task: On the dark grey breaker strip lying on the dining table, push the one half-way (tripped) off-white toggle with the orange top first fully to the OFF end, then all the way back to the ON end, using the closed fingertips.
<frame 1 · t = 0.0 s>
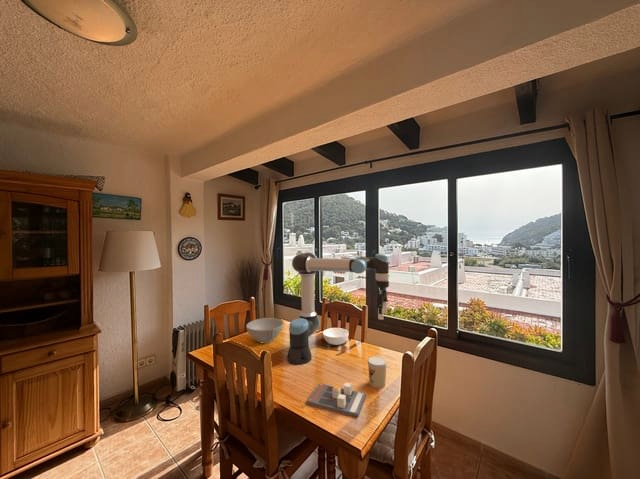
hand: (382, 315, 155), 28 cm above the table, fingers open, 13 cm apart
breaker panel: (336, 400, 121), on the table
bowl: (335, 342, 186), on the table
breaker toggle: (336, 392, 121), point 4 cm above the table, slide at 0.0 cm
decorative bowl: (265, 340, 192), on the table
coffee cup: (377, 384, 133), on the table
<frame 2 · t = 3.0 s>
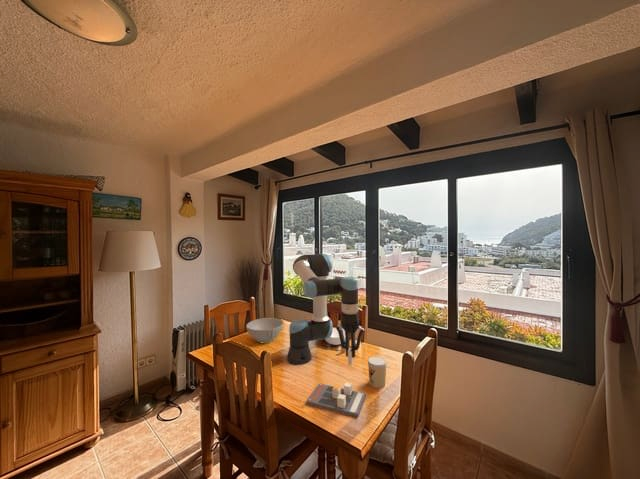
hand: (350, 363, 118), 18 cm above the table, fingers closed
nothing on the table moved.
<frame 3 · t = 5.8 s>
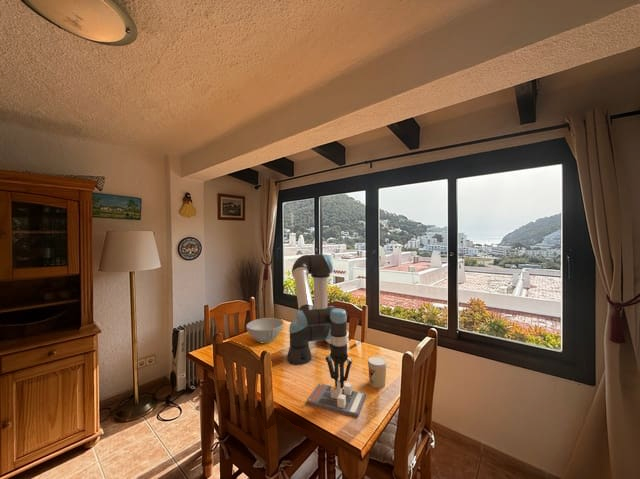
hand: (339, 394, 120), 3 cm above the table, fingers closed
breaker toggle: (334, 391, 121), point 4 cm above the table, slide at -0.9 cm, touching gripper
everything else where it was.
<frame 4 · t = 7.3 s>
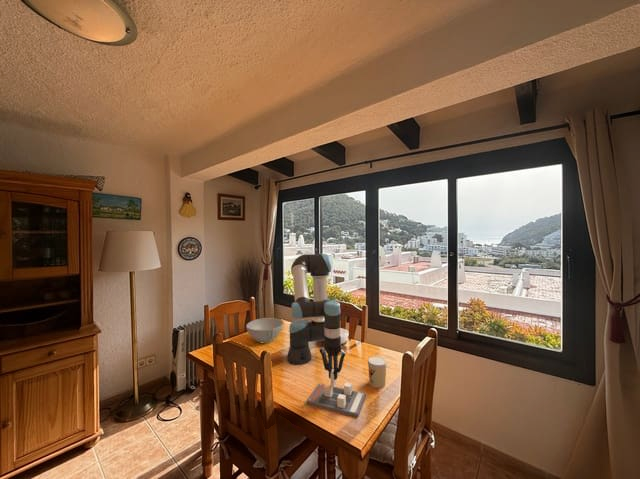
hand: (333, 385, 122), 7 cm above the table, fingers closed
breaker toggle: (328, 390, 122), point 4 cm above the table, slide at -4.0 cm
everything else where it was.
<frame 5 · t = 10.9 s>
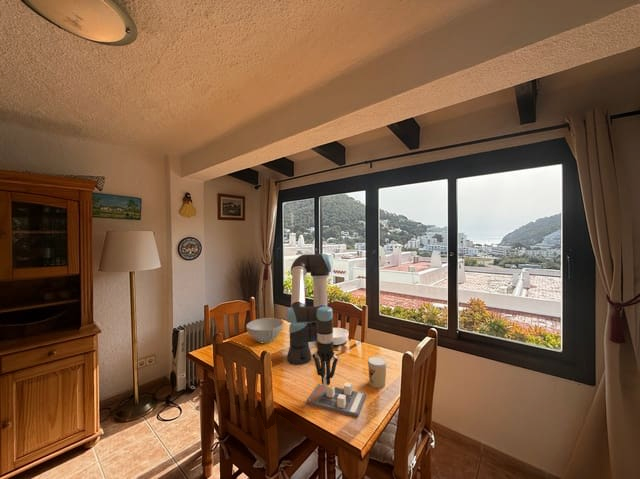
hand: (326, 390, 123), 4 cm above the table, fingers closed
breaker toggle: (330, 390, 122), point 4 cm above the table, slide at -2.9 cm, touching gripper
everything else where it was.
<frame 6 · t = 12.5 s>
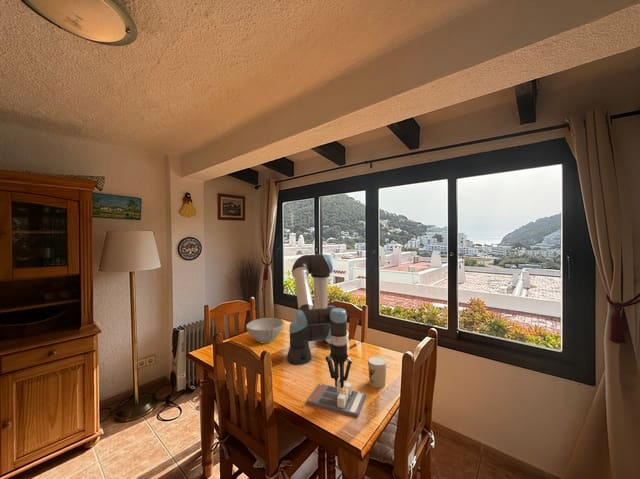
hand: (339, 393, 120), 3 cm above the table, fingers closed
breaker toggle: (344, 394, 119), point 4 cm above the table, slide at 3.7 cm, touching gripper
everything else where it was.
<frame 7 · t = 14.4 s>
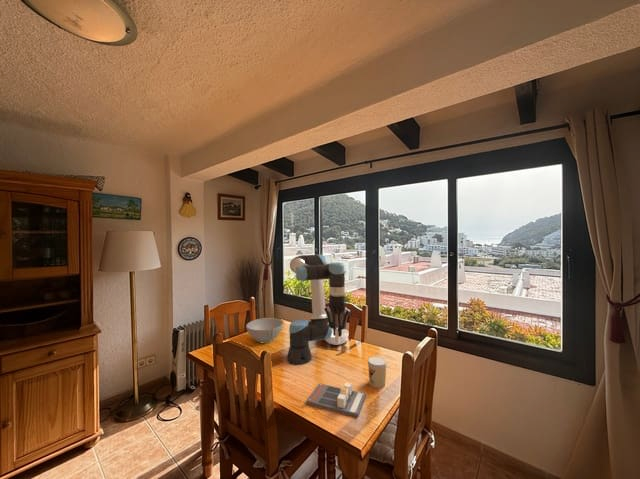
hand: (337, 342, 128), 24 cm above the table, fingers closed
breaker toggle: (344, 394, 119), point 4 cm above the table, slide at 3.7 cm
everything else where it was.
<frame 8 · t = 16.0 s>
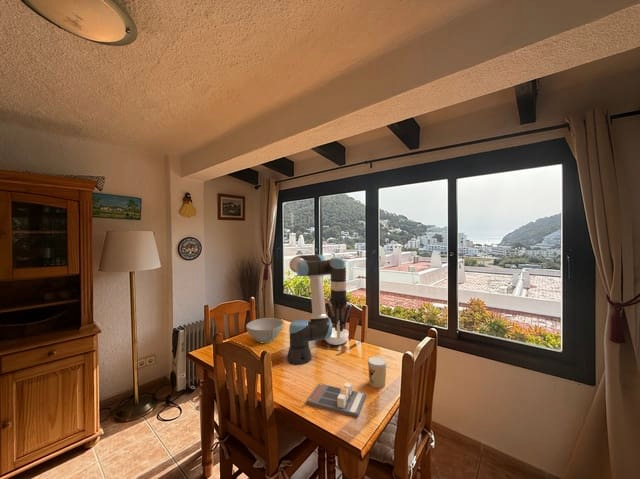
hand: (339, 337, 128), 26 cm above the table, fingers closed
nothing on the table moved.
at the end: breaker toggle slide at 3.7 cm; breaker toggle touching nothing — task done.
